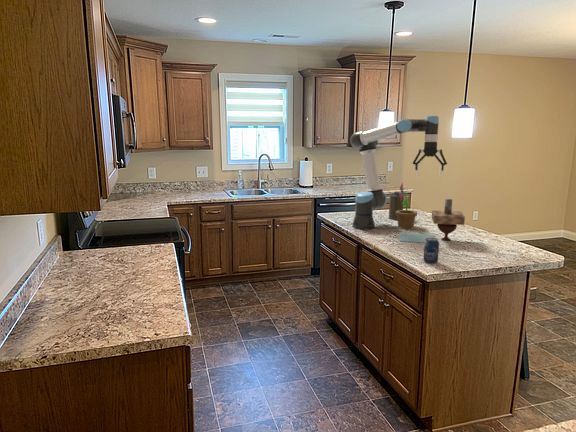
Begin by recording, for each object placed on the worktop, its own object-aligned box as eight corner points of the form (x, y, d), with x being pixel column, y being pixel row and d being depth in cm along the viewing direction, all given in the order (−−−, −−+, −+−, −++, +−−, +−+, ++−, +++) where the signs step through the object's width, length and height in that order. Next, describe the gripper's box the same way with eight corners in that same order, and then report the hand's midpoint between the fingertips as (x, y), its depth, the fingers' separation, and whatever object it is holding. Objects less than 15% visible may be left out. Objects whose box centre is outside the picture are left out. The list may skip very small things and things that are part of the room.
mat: (399, 241, 257) (399, 240, 257) (399, 233, 276) (399, 232, 276) (435, 243, 252) (435, 242, 252) (432, 235, 271) (432, 234, 271)
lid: (433, 223, 252) (435, 201, 249) (431, 217, 268) (432, 196, 265) (464, 224, 248) (465, 202, 245) (460, 219, 264) (461, 197, 261)
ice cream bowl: (452, 237, 265) (454, 213, 262) (457, 242, 254) (459, 217, 251) (434, 237, 266) (436, 213, 263) (439, 242, 255) (440, 217, 252)
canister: (391, 216, 329) (392, 190, 325) (404, 218, 323) (406, 191, 319) (385, 218, 320) (387, 192, 316) (399, 220, 314) (400, 193, 310)
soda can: (424, 263, 215) (425, 240, 212) (422, 259, 221) (424, 237, 219) (438, 264, 213) (440, 241, 211) (436, 260, 220) (438, 237, 218)
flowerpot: (397, 223, 304) (399, 181, 298) (418, 225, 298) (420, 182, 292) (392, 227, 292) (394, 183, 286) (414, 229, 286) (417, 184, 280)
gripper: (410, 141, 266) (408, 175, 270) (453, 141, 260) (450, 176, 264) (409, 141, 273) (408, 174, 277) (451, 141, 267) (449, 175, 271)
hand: (428, 175), depth 271 cm, fingers open, 13 cm apart
